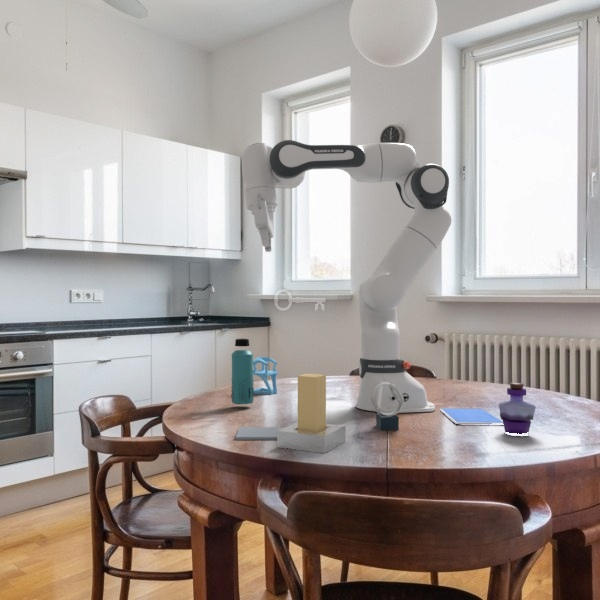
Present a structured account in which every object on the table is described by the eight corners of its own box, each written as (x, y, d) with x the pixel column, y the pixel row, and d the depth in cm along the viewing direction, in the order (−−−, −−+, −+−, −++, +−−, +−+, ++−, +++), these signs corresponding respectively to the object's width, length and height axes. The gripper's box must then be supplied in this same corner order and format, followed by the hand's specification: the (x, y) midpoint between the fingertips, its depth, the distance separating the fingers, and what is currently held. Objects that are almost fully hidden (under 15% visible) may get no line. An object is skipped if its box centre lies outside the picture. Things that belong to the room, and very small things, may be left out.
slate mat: (281, 429, 139) (281, 427, 139) (280, 439, 129) (280, 437, 129) (239, 429, 139) (239, 427, 139) (235, 439, 129) (235, 437, 129)
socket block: (300, 436, 133) (300, 420, 133) (344, 441, 128) (344, 425, 128) (277, 447, 123) (277, 430, 123) (324, 453, 118) (324, 436, 118)
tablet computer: (439, 412, 163) (439, 407, 163) (483, 412, 163) (483, 407, 163) (455, 427, 144) (455, 422, 144) (506, 428, 144) (506, 422, 144)
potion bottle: (504, 428, 141) (504, 379, 141) (541, 433, 135) (541, 382, 135) (491, 435, 134) (491, 383, 134) (529, 440, 128) (529, 387, 128)
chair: (268, 395, 188) (268, 359, 188) (247, 393, 192) (248, 357, 192) (281, 392, 194) (281, 356, 194) (261, 390, 199) (261, 355, 199)
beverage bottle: (250, 410, 163) (250, 339, 163) (227, 409, 165) (227, 339, 165) (256, 405, 170) (256, 338, 170) (235, 405, 171) (235, 337, 171)
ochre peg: (306, 440, 128) (307, 373, 128) (325, 443, 126) (325, 374, 126) (297, 445, 124) (297, 376, 124) (316, 448, 122) (317, 377, 122)
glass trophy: (406, 430, 139) (406, 384, 139) (373, 430, 138) (373, 384, 138) (400, 424, 144) (400, 381, 144) (369, 425, 144) (369, 381, 144)
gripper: (269, 190, 154) (275, 241, 153) (274, 207, 174) (280, 252, 173) (245, 193, 154) (252, 244, 153) (254, 210, 174) (259, 255, 173)
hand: (267, 248), depth 163 cm, fingers open, 8 cm apart
